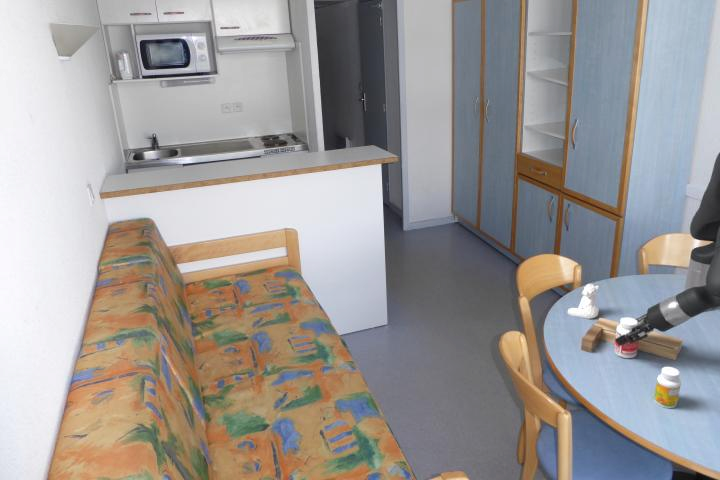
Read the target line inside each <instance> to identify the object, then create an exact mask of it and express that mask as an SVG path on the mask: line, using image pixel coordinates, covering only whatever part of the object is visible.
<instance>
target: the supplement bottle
mask: <svg viewBox="0 0 720 480" xmlns="http://www.w3.org/2000/svg"><path fill="white" fill-rule="evenodd" d="M681 384H682V382H681V379H680V371H679V369H677V368H675V367H672V366H664V367H662V368H661V372H660V374H659V375H658V376H657V378H656V385H655V390H654V396H653V400H654V402H655V403H656V405H658V406H659V407H662V408H666V409H673V408H675V407H677V404H678V401H679V396H680V390H681Z"/></svg>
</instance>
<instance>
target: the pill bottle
mask: <svg viewBox="0 0 720 480" xmlns="http://www.w3.org/2000/svg"><path fill="white" fill-rule="evenodd" d="M619 323H620V325H618V326H617V329H616V337H615V340H616V338H618V337H620V336H622V335H624V334H626V333H628V332H629V331H631V328H632V327H634V326H635V325H637V324H638V321H637V320H636V319H635V318H633V317H628V316H627V317H621V318H620V322H619ZM635 330H636V331H637V329H635ZM632 337H633V336H632ZM637 347H638V341H636V342H634V343H632V344H630V342H627V343H625V344H623V345H621V346H620V345H618V344H617V342H616V341H615V343H614V349H613V351H614V354H615V355H617V356H619V357H620V358H625V359H631V358H634V357H636V356H637V354H638V350H637Z"/></svg>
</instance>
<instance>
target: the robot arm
mask: <svg viewBox="0 0 720 480" xmlns="http://www.w3.org/2000/svg"><path fill="white" fill-rule="evenodd" d="M689 230H690V231H689V233H690V236H691V237H692V238H693V239H695V240H696V241H697V240H698V241H702V242H703V241H704V242H711V243H708V244H705V245H702V246H697V247H694V248H692V250H691V252H690V259H689V264H688V268H687V269H688V270H687V275H686V280H685V285H684V291H682V292H679V293H678V294H675V295H672V296H670V297H668V298H665V299H664V300H662V301H660V302H658V303H656V304H654V305H652V306H651V307H648V309H647V310H646V313H644V314H643V315H641V316H639V317H637V318H636V319H635V320H637V321H638V324H637V325H635V326H634V327H632V328H631V331H629V332H628V333H626V334H624V335H622V336H620V337H618V338H616V340H615V341H616V342H617V344H618V345H620V346H621V345H623V344H625V343H627V342H630V344H632V343H634V342H636V341H639V340H641V339H643V338H646V337H647V336H648V335H647V334H649V333H651V332H652V331H653V332H654V330H657V331H659V332H661V333H663V332H664V333H665V332H667V331H669V330H672V329H673V328H676V327H677V326H680V325H682V324H684V323H686V322H688V321H689V320H690V319H692V318H695V317H697V316H699V315H700V314H702V313H704V312H709V311H711V310H713V309H714V308H718V307H720V151H719V152H718V154H717V156H716V158H715V160H714V164H713V168H712V173H711V176H710V180H709V183H708V184H707V187H706V189H705V190H704V193H703V196H702V198H701V201H700V204H699V206H698V209H697V211H695V214H694V216H692V218H691V222H690V225H689ZM635 329H637V331H636V330H635ZM632 336H633V337H632Z"/></svg>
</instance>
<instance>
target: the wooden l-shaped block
mask: <svg viewBox="0 0 720 480" xmlns="http://www.w3.org/2000/svg"><path fill="white" fill-rule="evenodd" d="M618 325H620V322H619V321H615V320H611V319H607V318H603V317H599V318H598V320H597V321H596V323H595V324H591V327H590V328H589V329H587V331H586V333H585V334H584V335H583V336H582V338H581V344H580V345H581V346H580V350H581V351H582V352H583V351H584V352H588V353H590V354H591V353H592V352H594V350H595V348H596V347H597V346H598V344H599V343H600V341H601V340H603V341H606V342H609V343H614V344H615V337H616V329H617V326H618ZM647 335H648V336H647V337H646V338H643V339H641V340H639V341H638V347H637V351H642V352H645V353H648V354H651V355H656V356H659V357H662V358H666V359H668V360H669V359H670V360H674V361H676V360H677V358H678V355H679V354H680V351H681V349H682V345H683V339H682V338H678V337H675V336H671V335H668V334H663V333H660V332H656V331H654V330H653V331H652V332H651V333H649V334H647Z"/></svg>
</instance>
